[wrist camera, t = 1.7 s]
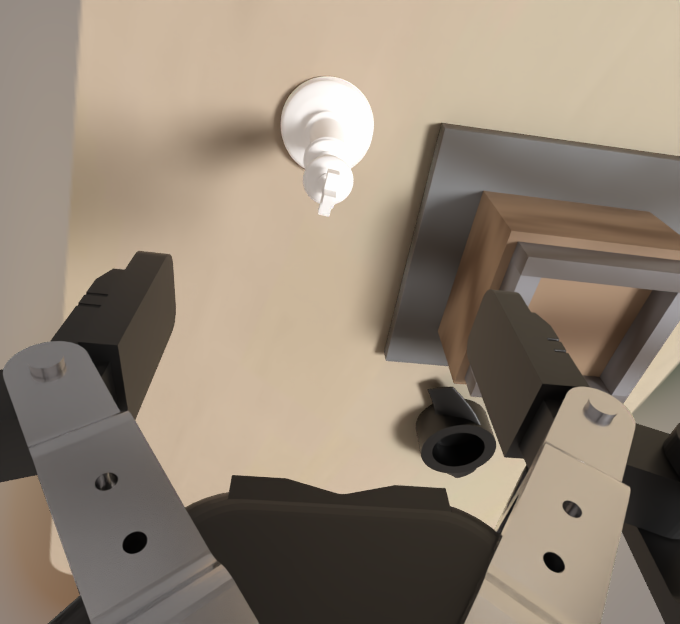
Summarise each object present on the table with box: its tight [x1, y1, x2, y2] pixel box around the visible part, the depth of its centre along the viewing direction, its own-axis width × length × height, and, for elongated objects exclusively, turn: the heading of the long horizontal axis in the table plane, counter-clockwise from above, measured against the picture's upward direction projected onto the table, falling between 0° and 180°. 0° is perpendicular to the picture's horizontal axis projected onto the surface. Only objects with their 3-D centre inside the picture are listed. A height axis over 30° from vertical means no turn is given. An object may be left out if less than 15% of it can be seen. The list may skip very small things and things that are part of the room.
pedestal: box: [384, 123, 680, 403], centre depth 28 cm, size 16×16×8 cm
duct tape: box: [416, 387, 496, 478], centre depth 39 cm, size 8×10×3 cm
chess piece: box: [281, 76, 374, 217], centre depth 22 cm, size 5×5×10 cm
